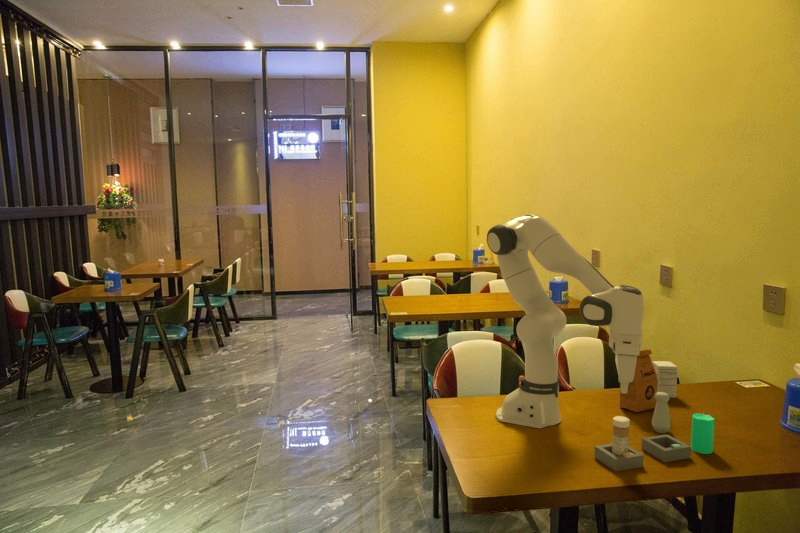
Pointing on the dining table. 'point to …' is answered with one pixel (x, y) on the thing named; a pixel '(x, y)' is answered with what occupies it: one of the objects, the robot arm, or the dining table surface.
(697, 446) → the candle
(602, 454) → the gray open box
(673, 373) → the supplement box
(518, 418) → the robot arm
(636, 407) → the coffee package
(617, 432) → the sprinkles bottle
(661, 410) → the salt shaker
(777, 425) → the dining table surface
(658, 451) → the grey square tray
